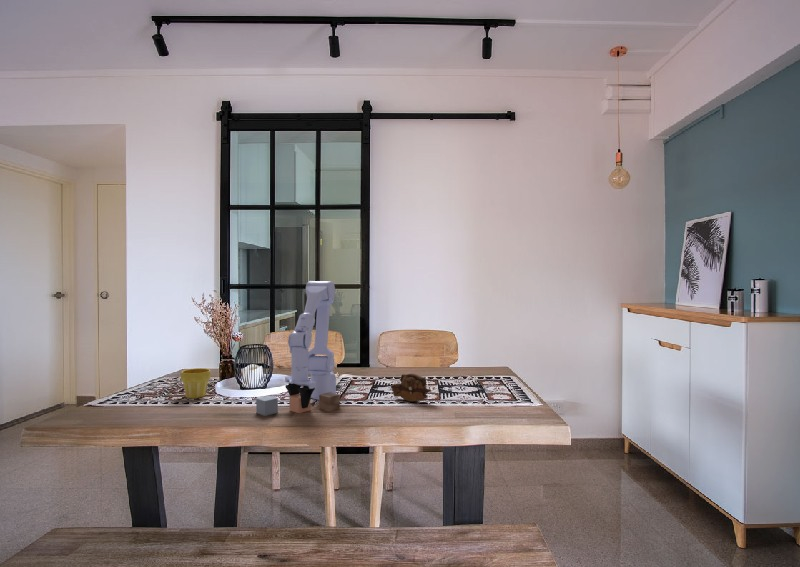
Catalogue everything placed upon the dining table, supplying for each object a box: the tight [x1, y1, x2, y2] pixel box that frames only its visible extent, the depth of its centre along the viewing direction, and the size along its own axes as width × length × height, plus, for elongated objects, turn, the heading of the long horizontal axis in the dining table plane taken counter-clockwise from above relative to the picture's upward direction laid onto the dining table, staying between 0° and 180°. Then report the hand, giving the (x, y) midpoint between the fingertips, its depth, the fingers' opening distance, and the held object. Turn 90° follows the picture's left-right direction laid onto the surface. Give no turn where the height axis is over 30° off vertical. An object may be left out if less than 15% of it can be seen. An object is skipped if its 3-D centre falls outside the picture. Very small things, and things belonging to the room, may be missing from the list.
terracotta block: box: [289, 393, 311, 414], centre depth 156 cm, size 5×5×5 cm
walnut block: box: [318, 392, 341, 413], centre depth 158 cm, size 5×5×5 cm
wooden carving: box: [390, 373, 432, 402], centre depth 168 cm, size 16×5×10 cm, turn 62°
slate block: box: [255, 395, 279, 417], centre depth 153 cm, size 5×5×5 cm
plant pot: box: [180, 367, 211, 399], centre depth 174 cm, size 10×10×10 cm
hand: (300, 406), depth 156 cm, fingers closed on terracotta block, 5 cm apart
